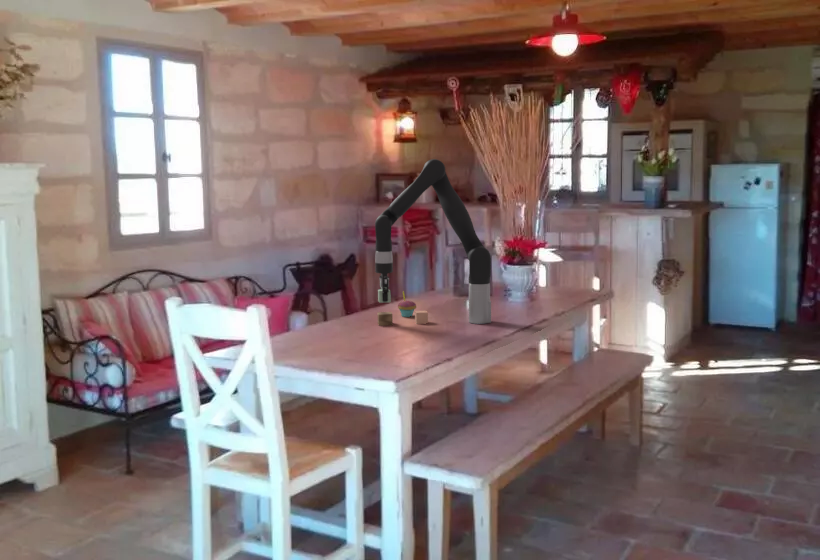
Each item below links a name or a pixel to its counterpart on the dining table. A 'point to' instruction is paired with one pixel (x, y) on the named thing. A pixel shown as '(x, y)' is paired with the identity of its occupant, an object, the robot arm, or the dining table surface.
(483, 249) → the robot arm
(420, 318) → the tan block
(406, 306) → the cupcake
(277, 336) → the dining table surface
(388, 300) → the sage block
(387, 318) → the walnut base
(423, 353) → the dining table surface
